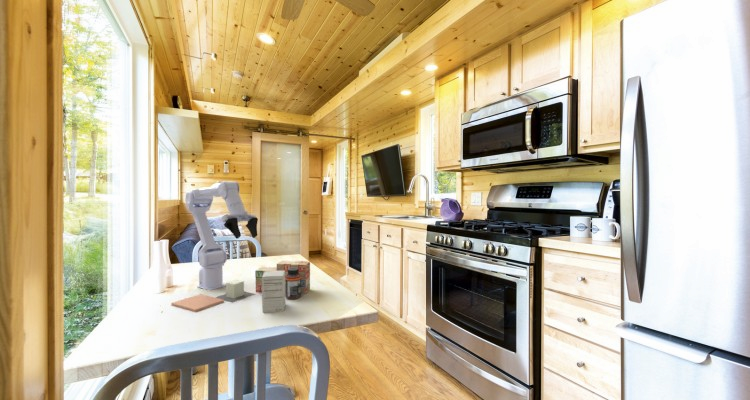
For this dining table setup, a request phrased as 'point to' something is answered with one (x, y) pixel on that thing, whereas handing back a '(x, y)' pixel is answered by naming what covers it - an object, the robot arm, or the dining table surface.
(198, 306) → the plate
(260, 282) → the stack of blocks
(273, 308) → the supplement box
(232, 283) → the sage block
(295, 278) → the supplement bottle
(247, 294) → the mat
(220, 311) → the dining table surface
